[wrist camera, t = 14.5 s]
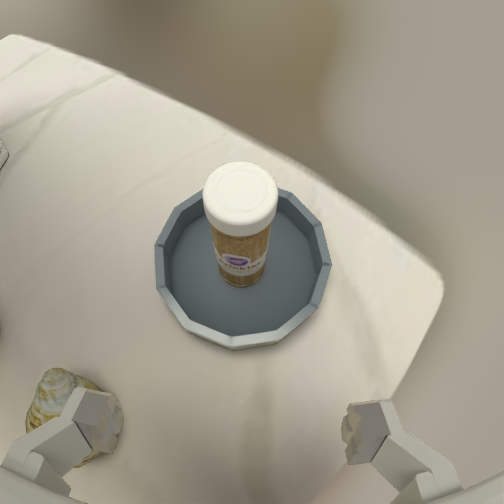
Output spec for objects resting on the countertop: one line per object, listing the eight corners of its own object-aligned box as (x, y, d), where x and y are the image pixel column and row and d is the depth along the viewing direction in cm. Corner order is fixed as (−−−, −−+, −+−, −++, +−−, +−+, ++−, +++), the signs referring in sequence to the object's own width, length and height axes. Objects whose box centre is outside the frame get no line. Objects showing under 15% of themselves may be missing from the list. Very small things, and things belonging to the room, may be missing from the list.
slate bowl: (138, 257, 32) (125, 241, 28) (254, 178, 36) (255, 156, 32) (228, 380, 28) (225, 382, 24) (349, 280, 31) (362, 268, 28)
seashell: (37, 457, 22) (-19, 424, 16) (61, 388, 30) (17, 340, 23) (115, 489, 22) (66, 469, 15) (135, 409, 29) (100, 364, 22)
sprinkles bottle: (220, 290, 30) (202, 226, 17) (216, 246, 31) (200, 161, 19) (268, 285, 30) (284, 219, 18) (262, 241, 32) (273, 155, 19)
